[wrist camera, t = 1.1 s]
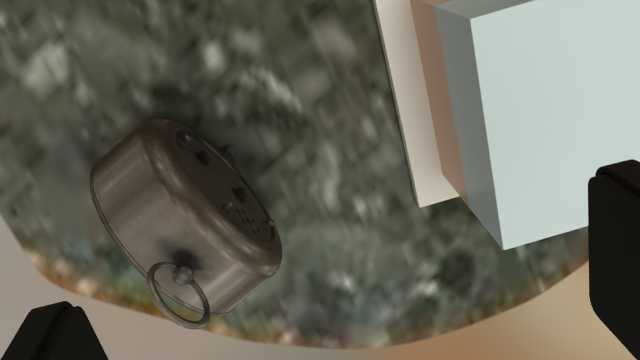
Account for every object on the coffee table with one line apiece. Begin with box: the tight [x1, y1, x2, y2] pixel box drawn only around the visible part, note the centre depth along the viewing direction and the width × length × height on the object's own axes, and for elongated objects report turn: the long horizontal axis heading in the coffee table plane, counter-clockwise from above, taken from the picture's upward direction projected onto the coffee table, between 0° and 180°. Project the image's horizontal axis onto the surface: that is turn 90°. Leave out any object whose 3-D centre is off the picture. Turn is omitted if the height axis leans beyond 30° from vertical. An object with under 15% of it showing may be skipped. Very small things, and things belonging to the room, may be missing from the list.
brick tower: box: [372, 0, 640, 250], centre depth 31 cm, size 16×16×11 cm
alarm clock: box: [90, 118, 282, 329], centre depth 29 cm, size 11×5×16 cm, turn 39°
